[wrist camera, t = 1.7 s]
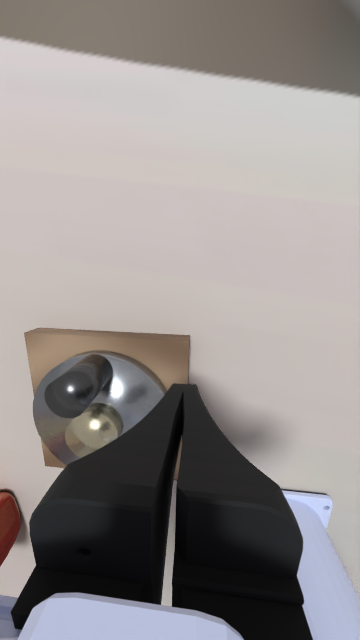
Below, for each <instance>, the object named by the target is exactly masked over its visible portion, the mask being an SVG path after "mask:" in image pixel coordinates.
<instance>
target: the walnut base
mask: <svg viewBox="0 0 360 640" xmlns="http://www.w3.org/2000/svg"><path fill="white" fill-rule="evenodd" d="M24 335H25V341H26V348H27V354H28V360H29V366H30V373H31V379H32V385H33V392H34V396H35V392H36V390H37V387H38V385H39V384H40V382H41V380H42V379H43V378H44V376H45V375H46V374H47V373H48V372H49V371H50V370H52V369H53V368H54V367H56V366H57V365H59V364H60V363H62V362H63V361H65V360H67V359H68V358H70V357H72V356H74V355H76V354H79V353H83V352H87V351H94V350H105V351H113V352H117V353H121V354H124V355H126V356H129V357H131V358H133V359H135V360H137V361H139V362H140V363H142V364H143V365H145V366H146V367H148V368H149V369H150V370H151V371H152V372H153V373H154V374H155V375H156V376H157V377H158V378H159V379H160V381H161V382H162V384H163V385H164V386H165V388H166V390H167V391H168V390H169V388H170V387H171V385H172V384H173V383H177V384H188V370H189V344H190V335H171V334H151V333H131V332H111V331H91V330H71V329H51V328H37V329H34V330H31V331H28V332H25V333H24ZM41 442H42V448H43V454H44V461H45V466H50V467H60V468H65V467H66V465H65V464H64V463H62V462H61V461H60V460H58V459H57V458H56V457H55V456H54V455H53V454H52V453H51V452H50V450H49V449H48V448H47V447H46V445H45V444H44V442H43V441H42V439H41ZM181 449H182V436H181V442H180V447H179V453H178V458H177V463H176V469H175V474H174V480H178V472H179V465H180V457H181Z"/></svg>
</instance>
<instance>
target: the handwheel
mask: <svg viewBox="0 0 360 640" xmlns="http://www.w3.org/2000/svg"><path fill="white" fill-rule="evenodd" d="M166 392H167V390H166V388H165V386H164V385H163V384H162V382H161V381H160V379H159V378H158V377H157V376H156V375H155V374H154V373H153V372H152V371H151V370H150V369H149V368H148V367H146V366H145V365H143V364H142V363H140V362H139V361H137V360H135V359H133V358H131V357H129V356H126V355H124V354H121V353H117V352H113V351H105V350H94V351H87V352H83V353H79V354H76V355H74V356H72V357H70V358H68V359H67V360H65V361H63V362H62V363H60V364H59V365H57V366H56V367H54V368H53V369H52V370H50V371H49V372H48V373H47V374H46V375H45V376H44V378H43V379H42V380H41V382H40V384H39V385H38V387H37V390H36V392H35V396H34V401H33V417H34V421H35V425H36V428H37V431H38V433H39V435H40V437H41V439H42V441H43V442H44V444H45V445H46V447H47V448H48V449H49V450H50V452H51V453H52V454H53V455H54V456H55V457H56V458H57V459H58V460H60V461H61V462H62V463H64V464H65V465H66V466H67V465H68V464H69V463H71V462H73V461H76V460H78V459H80V458H82V457H84V456H86V455H88V454H90V453H92V452H94V451H96V450H98V449H100V448H101V447H103V446H105V445H107V444H109V443H110V442H112V441H113V440H115V439H117V438H118V437H120V436H121V435H122V434H124V433H125V432H127V431H128V430H129V429H131V428H132V427H133V426H135V425H136V424H137V423H138V422H139V421H141V420H142V419H143V418H144V417H145V416H146V415H147V414H148V413H149V412H150V411H151V410H152V409H153V408H154V407H155V406H156V405H157V403H158V402H159V401H160V400H161V399H162V398H163V396H164V395H165V394H166Z"/></svg>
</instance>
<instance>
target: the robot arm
mask: <svg viewBox="0 0 360 640" xmlns="http://www.w3.org/2000/svg"><path fill="white" fill-rule="evenodd" d="M181 436H182V449H181V457H180V465H179V472H178V480H177V490H176V527H175V552H174V565H173V577H172V607H170V606H163V605H161V599H162V588H163V577H164V567H165V557H166V546H167V536H168V526H169V516H170V506H171V496H172V487H173V480H174V474H175V469H176V463H177V458H178V453H179V447H180V442H181ZM332 506H333V501H332V499H331V498H330V497H329V496H328V495H321V494H311V493H302V492H293V491H283V490H281V488H280V487H279V485H278V484H276V483H275V482H274V481H273V480H271V479H270V478H269V477H267V476H266V475H265V474H264V473H262V472H261V471H260V470H259V469H257V468H256V467H255V466H254V465H253V464H252V463H250V462H249V461H248V460H247V459H246V458H245V457H244V456H243V455H242V454H241V453H240V452H239V451H238V450H237V449H236V448H235V447H234V446H233V445H232V444H231V443H230V441H229V440H228V439H227V438H226V437H225V435H224V434H223V433H222V432H221V430H220V429H219V428H218V426H217V425H216V423H215V422H214V420H213V419H212V417H211V416H210V414H209V412H208V411H207V409H206V407H205V405H204V403H203V401H202V399H201V397H200V394H199V391H198V388H197V386H196V385H192V384H177V383H173V384H172V385H171V387H170V388H169V390H168V391H167V392H166V394H165V395H164V396H163V398H162V399H161V400H160V401H159V402H158V403H157V405H156V406H155V407H154V408H153V409H152V410H151V411H150V412H149V413H148V414H147V415H146V416H145V417H144V418H143V419H142V420H141V421H139V422H138V423H137V424H136V425H135V426H133V427H132V428H131V429H129V430H128V431H127V432H125V433H124V434H122V435H121V436H120V437H118V438H117V439H115V440H113V441H112V442H110V443H109V444H107V445H105V446H103V447H101V448H100V449H98V450H96V451H94V452H92V453H90V454H88V455H86V456H84V457H82V458H80V459H78V460H76V461H73V462H71V463H69V464H68V465H67V466H66V467H65V469H64V470H63V471H62V472H61V473H60V475H59V476H58V477H57V479H56V480H55V481H54V483H53V484H52V485H51V487H50V488H49V490H48V491H47V493H46V494H45V496H44V497H43V499H42V500H41V502H40V503H39V505H38V506H37V507H36V509H35V510H34V512H33V513H32V516H31V519H30V522H29V525H30V537H31V542H32V547H33V552H34V557H35V561H36V567H35V568H34V570H33V572H32V574H31V576H30V578H29V579H28V581H27V583H26V585H25V587H24V588H23V590H22V592H21V594H20V596H19V598H16V597H9V596H3V595H0V640H360V597H359V595H358V593H357V591H356V589H355V587H354V585H353V583H352V581H351V579H350V577H349V575H348V573H347V571H346V569H345V567H344V565H343V563H342V561H341V559H340V557H339V555H338V553H337V551H336V549H335V547H334V545H333V543H332V541H331V539H330V537H329V535H328V533H327V531H326V529H327V525H328V521H329V518H330V514H331V510H332Z"/></svg>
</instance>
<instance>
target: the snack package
mask: <svg viewBox="0 0 360 640" xmlns="http://www.w3.org/2000/svg"><path fill="white" fill-rule="evenodd" d="M19 530H20V513H19V509H18V506H17V503H16V501H15V498H14V497H13V496H12V495H11V494H9V493H6V492H0V566H1V565H2V563H3V561H4V560H5V558H6V557H7V555H8V553H9V551H10V549H11V548H12V546H13V544H14V542H15V540H16V537H17V535H18V532H19Z"/></svg>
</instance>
